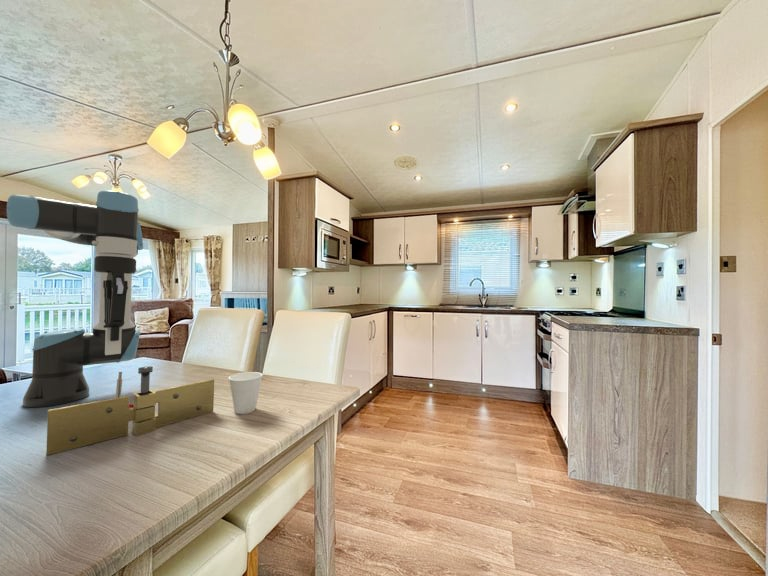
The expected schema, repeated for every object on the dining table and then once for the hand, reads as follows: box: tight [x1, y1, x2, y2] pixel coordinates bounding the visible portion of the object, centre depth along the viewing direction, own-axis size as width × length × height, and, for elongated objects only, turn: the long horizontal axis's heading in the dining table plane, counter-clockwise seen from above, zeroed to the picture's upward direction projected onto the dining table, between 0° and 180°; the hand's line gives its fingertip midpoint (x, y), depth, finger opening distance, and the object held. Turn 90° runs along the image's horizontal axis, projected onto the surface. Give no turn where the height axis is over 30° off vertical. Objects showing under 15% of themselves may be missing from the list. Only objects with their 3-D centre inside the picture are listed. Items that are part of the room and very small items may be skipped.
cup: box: [228, 371, 264, 415], centre depth 94 cm, size 10×10×11 cm
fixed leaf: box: [131, 378, 215, 437], centre depth 85 cm, size 4×19×10 cm, turn 142°
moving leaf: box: [45, 395, 156, 456], centre depth 74 cm, size 4×19×10 cm, turn 136°
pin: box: [138, 365, 154, 409], centre depth 80 cm, size 3×3×11 cm
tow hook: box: [115, 371, 134, 409], centre depth 93 cm, size 8×13×9 cm
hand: (112, 353), depth 72 cm, fingers closed
